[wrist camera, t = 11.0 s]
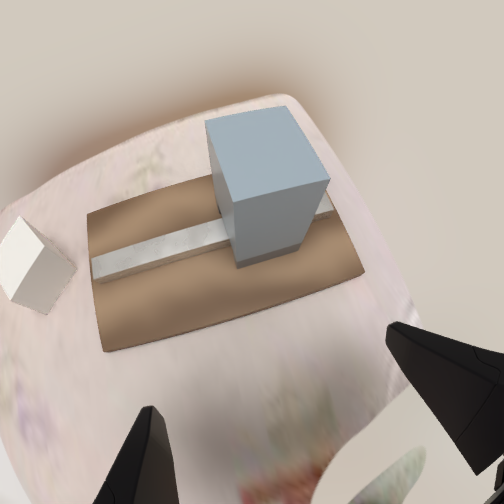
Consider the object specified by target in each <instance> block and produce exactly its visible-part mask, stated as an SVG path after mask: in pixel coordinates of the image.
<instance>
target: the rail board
mask: <svg viewBox="0 0 504 504" xmlns="http://www.w3.org/2000/svg"><path fill="white" fill-rule="evenodd" d="M87 232H88V250H89V263H90V273H91V282H92V290H93V298H94V305H95V311H96V317H97V323H98V329H99V334H100V339H101V344H102V348H103V352H112V351H117V350H121V349H125V348H130V347H134V346H138V345H142V344H146V343H150V342H154V341H158V340H162V339H166V338H169V337H173V336H177V335H181V334H184V333H188V332H192V331H195V330H199V329H202V328H206V327H209V326H213V325H216V324H220V323H223V322H226V321H230V320H233V319H236V318H239V317H243V316H246V315H249V314H252V313H255V312H259V311H262V310H265V309H268V308H271V307H274V306H277V305H280V304H283V303H286V302H289V301H292V300H295V299H298V298H301V297H303V296H306V295H309V294H312V293H315V292H318V291H320V290H323V289H326V288H329V287H331V286H334V285H337V284H340V283H342V282H345V281H348V280H350V279H353V278H355V277H358V276H361V275H362V274H363V273H365V270H364V268H363V266H362V264H361V261H360V259H359V257H358V255H357V252H356V250H355V248H354V246H353V244H352V241H351V239H350V237H349V235H348V233H347V231H346V229H345V227H344V225H343V223H342V221H341V219H340V217H339V214H338V212H337V210H336V209H335V207H334V205H333V203H332V201H331V199H330V197H329V195H328V193H327V191H326V190H325V193H324V195H323V197H322V199H321V202H320V204H319V206H318V208H317V211H316V213H315V215H314V217H313V220H312V222H311V224H310V226H309V228H308V230H307V233H306V235H305V237H304V239H303V241H302V243H301V246H300V248H299V250H298V251H296V252H293V253H290V254H286V255H283V256H280V257H276V258H273V259H270V260H267V261H263V262H260V263H257V264H253V265H250V266H247V267H243V268H240V269H237V267H236V264H235V261H234V256H233V249H232V246H231V243H230V240H229V237H228V234H227V231H226V227H225V224H224V221H223V218H222V215H221V214H219V211H218V208H217V204H216V198H215V191H214V184H213V178H212V174H210V175H207V176H203V177H199V178H196V179H192V180H189V181H185V182H182V183H178V184H175V185H171V186H168V187H165V188H162V189H158V190H155V191H152V192H149V193H146V194H143V195H140V196H137V197H134V198H131V199H128V200H125V201H122V202H119V203H116V204H113V205H111V206H108V207H105V208H102V209H100V210H97V211H94V212H92V213H89V214H87Z"/></svg>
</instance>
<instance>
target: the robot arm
mask: <svg viewBox="0 0 504 504" xmlns="http://www.w3.org/2000/svg"><path fill="white" fill-rule="evenodd" d="M385 341H386V345H387V347H388V348H389V350H390V352H391V353H392V355H393V357H394V358H395V360H396V362H397V363H398V365H399V367H400V368H401V370H402V372H403V373H404V375H405V376H406V377H407V379H408V380H409V381H410V383H411V384H412V385H413V387H414V388H415V389H416V391H417V392H418V393H419V395H420V396H421V397H422V399H423V400H424V401H425V403H426V404H427V405H428V407H429V408H430V409H431V411H432V412H433V414H434V415H435V416H436V418H437V419H438V421H439V422H440V423H441V425H442V426H443V427H444V429H445V430H446V432H447V433H448V435H449V436H450V438H451V439H452V440H453V442H454V443H455V445H456V446H457V448H458V449H459V451H460V452H461V454H462V455H463V457H464V458H465V460H466V461H467V463H468V464H469V466H470V467H471V468H472V470H473V472H474V473H475V475H476V476H477V475H479V474H480V473H481V472H482V471H484V470H485V469H486V468H487V467H489V466H490V465H491V464H492V463H493V462H495V461H496V460H497V459H498V458H499V457H500V456H501V455H502V454H503V456H504V354H503V353H499V352H494V351H490V350H486V349H482V348H479V347H476V346H472V345H469V344H466V343H463V342H459V341H457V340H453V339H450V338H447V337H444V336H441V335H438V334H435V333H431V332H428V331H426V330H422V329H419V328H416V327H413V326H410V325H407V324H404V323H401V322H398V321H396V322H393V323H391V324H389V325H388V326H387V332H386V339H385ZM494 490H495V491H496V492H495V493H494V494H493V495H492V496H491V497H490V498H489V499H488V500H487V501H486V502H485V503H484V504H504V459H503V460H502V462H500V464H499V465H498V467H497V474H496V481H495V487H494ZM92 504H179V498H178V492H177V485H176V478H175V470H174V462H173V456H172V451H171V447H170V443H169V438H168V434H167V429H166V424H165V421H164V418H163V417H162V415H161V414H160V413H159V412H158V410H157V409H156V408H155V407H154V406H146V407H143V408H142V409H141V411H140V413H139V415H138V417H137V418H136V420H135V422H134V424H133V426H132V428H131V430H130V432H129V434H128V436H127V438H126V440H125V442H124V444H123V446H122V447H121V449H120V451H119V453H118V455H117V457H116V459H115V461H114V463H113V465H112V467H111V469H110V471H109V473H108V475H107V477H106V481H104V483H103V485H102V487H101V489H100V491H99V493H98V495H97V497H96V499H95V500H94V502H93V503H92Z"/></svg>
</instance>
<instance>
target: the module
mask: <svg viewBox="0 0 504 504" xmlns="http://www.w3.org/2000/svg"><path fill="white" fill-rule="evenodd" d="M205 128H206V135H207V143H208V150H209V157H210V164H211V171H212V178H213V184H214V191H215V198H216V204H217V208H218V211H219V214H221V215H222V218H223V221H224V224H225V227H226V231H227V234H228V237H229V240H230V243H231V246H232V249H233V256H234V261H235V264H236V267H237V269H240V268H243V267H247V266H250V265H253V264H257V263H260V262H263V261H267V260H270V259H273V258H276V257H280V256H283V255H286V254H290V253H293V252H296V251H298V250H299V248H300V246H301V243H302V241H303V239H304V237H305V235H306V233H307V230H308V228H309V226H310V224H311V222H312V220H313V217H314V215H315V213H316V211H317V208H318V206H319V204H320V202H321V199H322V197H323V195H324V193H325V190H326V188H327V186H328V184H329V181H330V179H331V178H330V177H329V175H328V173H327V171H326V170H325V168H324V166H323V164H322V163H321V161H320V159H319V157H318V156H317V154H316V152H315V151H314V149H313V147H312V146H311V144H310V143H309V141H308V139H307V138H306V136H305V134H304V133H303V131H302V130H301V128H300V127H299V125H298V123H297V122H296V120H295V119H294V117H293V116H292V114H291V113H290V111H289V110H288V108H287V107H286V106H280V107H273V108H266V109H260V110H254V111H249V112H243V113H238V114H233V115H228V116H223V117H219V118H214V119H210V120H205Z"/></svg>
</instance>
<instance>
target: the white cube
mask: <svg viewBox="0 0 504 504" xmlns="http://www.w3.org/2000/svg"><path fill="white" fill-rule="evenodd" d="M76 270H77V268H76V267H75V266H74V265H73V264H72V263H71V262H70V261H69V260H68V259H67V258H66V257H65V256H64V255H63V254H62V253H61V252H60V251H59V250H58V248H57V247H56V246H55V245H54V244H53V243H52V242H51V241H50V240H49V239H48V238H47V237H45V236H44V235H43V234H42V233H40V232H39V231H38V230H37V229H36V228H34V227H33V226H32V225H31V224H30V223H28V222H27V221H26V220H25V219H24V218H22V217H21V216H19V217H18V219H17V220H16V222H15V223H14V224H13V226H12V227H11V229H10V230H9V232H8V233H7V235H6V236H5V238H4V239H3V241H2V243H1V244H0V284H1V286H2V288H3V289H4V291H5V293H6V294H7V296H8V298H9V299H10V301H12V302H15V303H17V304H20V305H22V306H25V307H27V308H30V309H33V310H35V311H38V312H41V313H44V314H46V315H48V313H49V311H50V310H51V308H52V306H53V305H54V303H55V302H56V300H57V299H58V297H59V295H60V294H61V292H62V291H63V289H64V288H65V286H66V285H67V283H68V282H69V280H70V279H71V277H72V276H73V275H74V273H75V272H76Z"/></svg>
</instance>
